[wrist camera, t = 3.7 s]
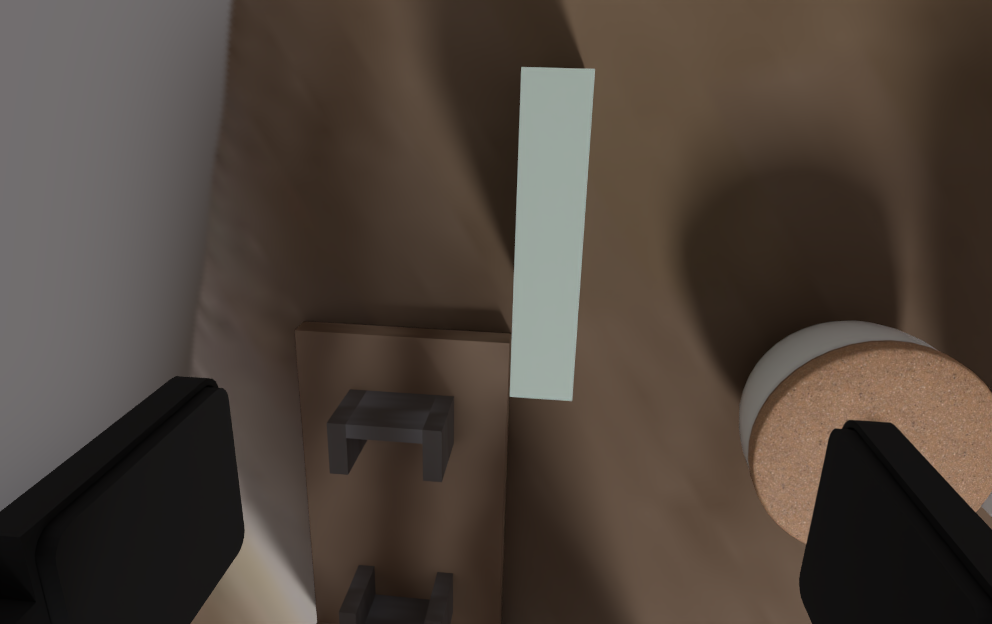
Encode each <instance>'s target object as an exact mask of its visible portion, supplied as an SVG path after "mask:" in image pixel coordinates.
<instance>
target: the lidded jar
mask: <svg viewBox="0 0 992 624" xmlns="http://www.w3.org/2000/svg"><path fill="white" fill-rule="evenodd" d="M848 420H861V421H876V422H891V423H892V424H894V425H895V426H896V427H897V428H898V429H899V430H900V431H901V432H902V433H903V435H904V436H905V437H906V438H907V439H908V440H909V441H910V442H911V443H912V444H913V445H914V446H915V447H916V449H917V450H918V451H919V452H920V453H921V454H922V455H923V456H924V457H925V458H926V459H927V460H928V462H929V463H930V464H931V465H932V466H933V467H934V468H935V469H936V470H937V471H938V472H939V473H940V474H941V476H942V477H943V478H944V479H945V480H946V481H947V482H948V483H949V484H950V485H951V486H952V487H953V489H954V490H955V491H956V492H957V493H958V494H959V495H960V496H961V497H962V498H963V499H964V500H965V502H966V503H967V504H968V505H969V506H970V507H971V508H972V509H973V510H974V511H975V512H977V510H978V509H979V508H980V507H981V505H982V504H983V503H984V502H985V500H986V499H987V498H988V496H989V495H990V493H991V491H992V392H991V391H990V389H989V388H988V386H987V385H986V384H985V383H984V382H983V381H982V380H981V379H980V378H979V377H978V376H977V375H976V374H975V373H974V372H972V371H971V370H970V369H968V368H967V367H966V366H964V365H963V364H961V363H960V362H958V361H956V360H955V359H953V358H952V357H950V356H949V355H947V354H944V353H942V352H940V351H938V350H937V349H935V348H934V347H932V346H930V345H929V344H927V343H926V342H924V341H922V340H920V339H918V338H916V337H914V336H911V335H909V334H907V333H905V332H902V331H900V330H898V329H895V328H891V327H887V326H883V325H880V324H876V323H872V322H864V321H855V320H852V321H832V322H826V323H820V324H816V325H813V326H809V327H806V328H803V329H801V330H799V331H797V332H795V333H793V334H790V335H789V336H787V337H785V338H784V339H782V340H781V341H779V342H778V343H776V344H775V345H774V346H773V347H772V348H771V349H770V350H768V351H767V352H766V353H765V354H764V355H763V357H762V358H761V359H760V360H759V361H758V362H757V364H756V365H755V367H754V369H753V370H752V372H751V373H750V375H749V377H748V380H747V382H746V385H745V387H744V390H743V392H742V396H741V401H740V405H739V432H740V439H741V445H742V450H743V453H744V456H745V459H746V462H747V465H748V468H749V470H750V476H751V479H752V481H753V484H754V487H755V490H756V493H757V495H758V497H759V499H760V501H761V502H762V504H763V506H764V508H765V510H766V511H767V513H768V514H769V515H770V516H771V517H772V519H773V520H774V521H775V522H776V523H777V524H778V525H779V526H780V527H781V528H782V529H784V530H785V531H786V532H787V533H788V534H789V535H791V536H793V537H794V538H796V539H798V540H799V541H801V542H803V543H805V544H806V543H807V539H808V534H809V529H810V524H811V520H812V515H813V510H814V506H815V501H816V496H817V491H818V487H819V482H820V477H821V473H822V468H823V463H824V459H825V454H826V449H827V444H828V440H829V436H830V433H831V432H832V430H834V429H835V428H836V429H842V427H843V425H844V424H845V422H847V421H848Z"/></svg>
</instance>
